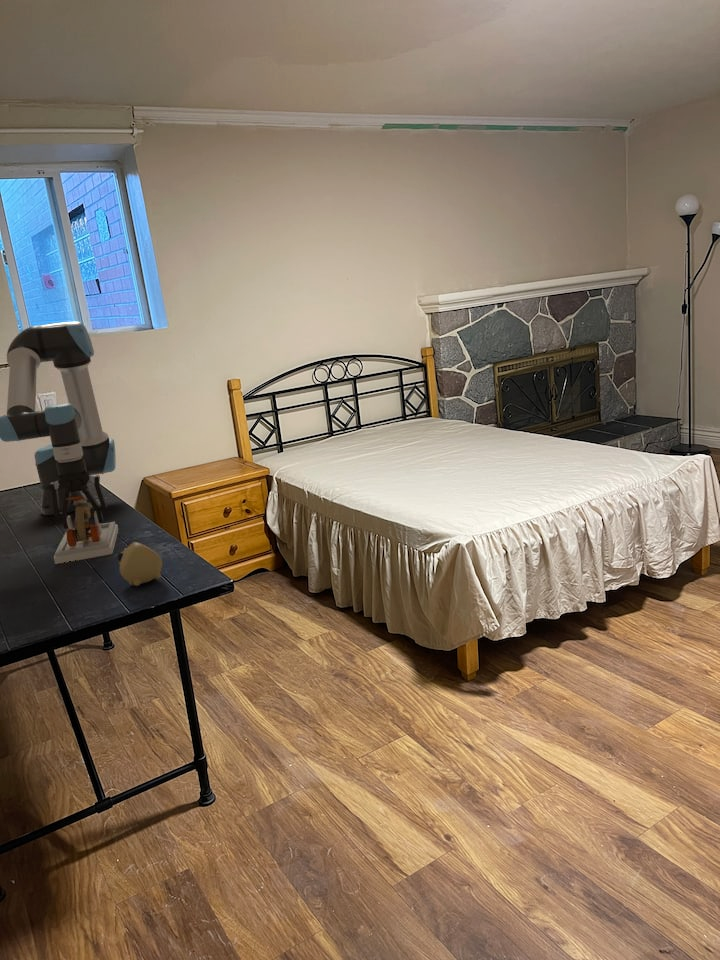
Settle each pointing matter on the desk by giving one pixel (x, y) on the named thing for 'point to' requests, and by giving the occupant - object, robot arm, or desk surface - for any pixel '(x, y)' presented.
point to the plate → (88, 546)
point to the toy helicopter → (82, 523)
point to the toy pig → (139, 564)
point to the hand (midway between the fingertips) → (86, 536)
